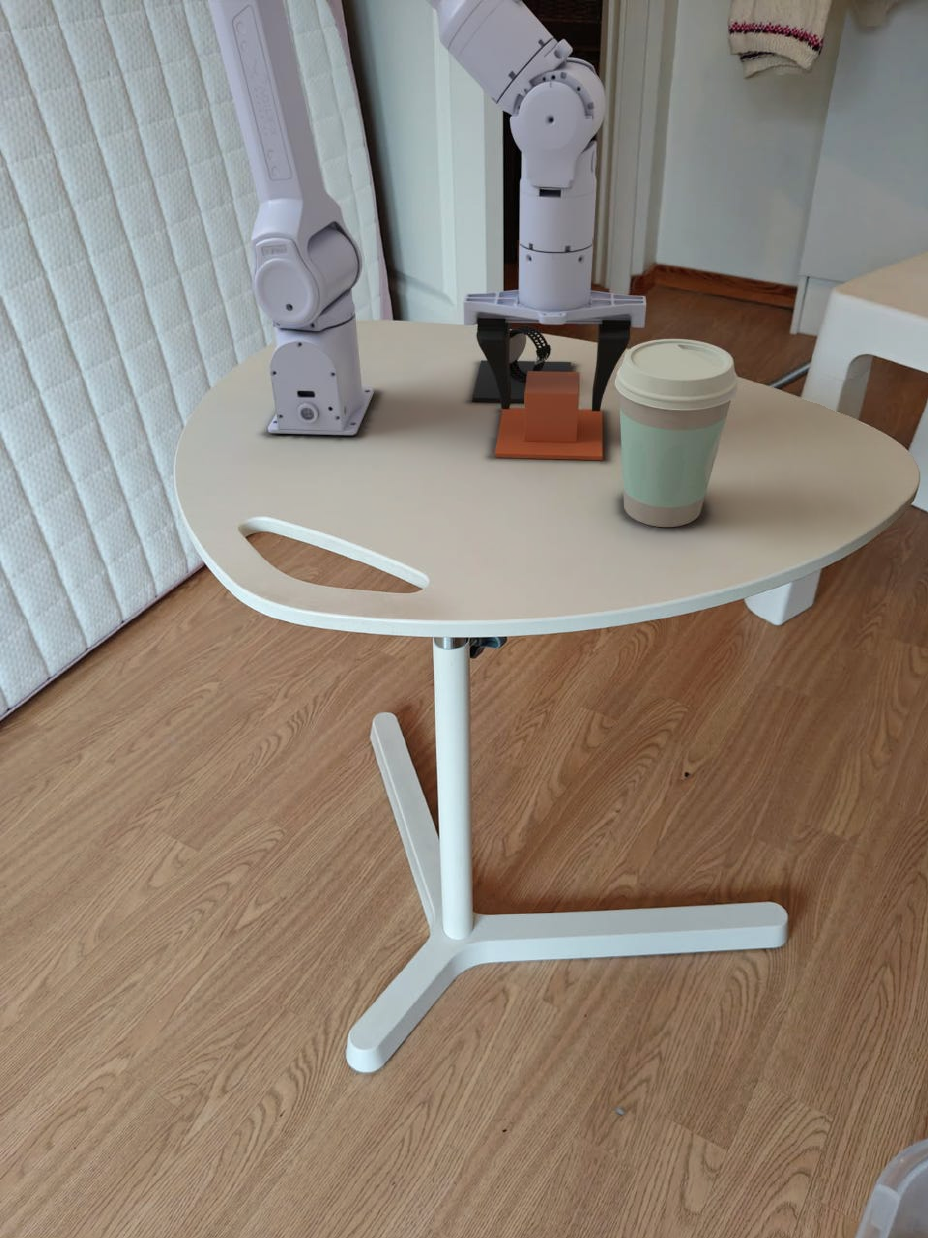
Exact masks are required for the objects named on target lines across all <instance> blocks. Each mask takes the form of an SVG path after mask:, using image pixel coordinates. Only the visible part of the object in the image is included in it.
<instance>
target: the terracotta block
mask: <svg viewBox="0 0 928 1238" xmlns="http://www.w3.org/2000/svg"><path fill="white" fill-rule="evenodd" d="M580 374H581V373H580V372H579V371H571V372H545V371H528V372H527V378H526V386H525V393H524V403H523V408H524V441H527V442H566V443H576V442H577V425H578V410H579V404H580V401H579V400H580Z"/></svg>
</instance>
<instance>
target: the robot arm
mask: <svg viewBox="0 0 928 1238" xmlns="http://www.w3.org/2000/svg"><path fill="white" fill-rule="evenodd" d="M425 1H426V2H427V3H428V4H429V5H430V6H431V7H432V8H433V9H434V10H435V11H436V12H435V13H436V16H437V23H438V37H439V41H440V44H441V46H443V47H444V48H445V49H446V51H447V52H448V53H449V54H450V55H451V56H452V57H453V58H454V59H455V60H456V62H457V63H458V64H459V65H460V66H461V68H463V70H465V72H466V73H467V74H468V75H469V76H470V77H471V78H472V79H473V81H474V82H475V83H476V84H477V85H478V86H479V87H480V88H481V90H483V92H484V93H486V95H487V96H488V97H489V98H490V99H491V100H492V101H493V103H495V105H497V107H498V108H499V109H500V110H501V111H503V112H505V113H507V114H509V115H511V116H510V118H509V124H510V130H511V134H512V137H513V139H514V142H515V144H516V145H517V147H518V149H519V150H520V152H521V178H520V181H519V243H518V245H519V246H518V247H519V248H518V249H519V250H518V265H519V266H518V289H513V290H503V291H493V292H483V293H465V296H464V298H463V302H462V303H463V305H462V307H463V308H462V310H463V325H464V326H476V325H477V327H476V335H475V337H476V341H477V344H478V347H479V348H480V350H481V352H482V353H483V355H484V357H485V359H486V360H487V361H488V363H489V365H490V367H491V370H492V372H493V375H494V378H495V381H496V384H497V388H498V391H499V396H500V401H501V402H500V409H501V410H502V409H509V408H511V403H512V402H511V377H510V364H509V350H510V330H511V324H540V325H551V326H553V325H556V326H557V325H558V326H559V325H560V326H561V325H565V324H568V325H569V324H571V325H572V324H573V325H574V324H575V325H576V324H577V325H598V326H597V328H598V329H597V346H596V361H595V369H594V370H595V372H594V377H593V384H592V392H591V393H592V395H591V410H592V411H597V412H599V411H600V410H602V408H601V407H602V403H603V399H604V395H605V392H606V389H607V386H608V384H609V382H610V378H611V376H612V374H613V372H614V370H615V368H616V366H617V364H618V362H619V361H620V359H621V357H622V355H623V354H624V353H625V351H626V349H627V347H628V346H629V343H630V340H631V328H635V329H636V328H639V329H644V328H645V326H646V325H645V324H646V313H647V298H646V296H645V295H633V294H631V295H630V294H622V293H621V294H620V293H612V292H605V291H598V290H592V289H591V288H592V272H593V271H592V270H593V256H594V255H593V254H594V240H595V239H594V238H595V237H594V236H595V219H596V217H595V216H596V203H597V201H596V200H597V177H596V167H597V161H598V156H597V145H598V143H597V141H596V140H592V138H593V137H594V136H595V135H596V134H597V132H598V131H599V130H600V127H601V126H602V124H603V121H604V118H605V115H606V111H607V95H606V90H605V87H604V84H603V82H602V81H601V79H600V77H599V76H598V75H597V72H596V69H595V67H594V65H592V63H590V62H588V61H586V60H584V59H581V58H578V57H569V56H570V55H571V54H572V53H573V47H572V46H571V45H570V43H568V41H567V40H566V39H564V38H562V39H561V40H560V41H559V42H558V41H557V39H556V38H554V36H553V35H552V34H551V33H550V32H549V31H548V29H547V28H546V27H545V26H544V25H543V24H542V22H541V21H540V20H539V19H538V18H537V17H536V16H535V15H534V13H533V12H532V11H531V10H530V9H529V8H528V7H527V6H526V4H525V3H524V2H523V0H425ZM207 2H208V7H209V9H210V14H211V18H212V21H213V27H214V30H215V34H216V38H217V41H218V45H219V50H220V53H221V57H222V62H223V65H224V70H225V73H226V77H227V81H228V84H229V85H228V86H229V90H230V93H231V97H232V100H233V105H234V108H235V112H236V116H237V120H238V123H239V127H240V128H239V129H240V132H241V136H242V139H243V144H244V147H245V148H244V149H245V151H246V156H247V159H248V162H249V163H248V164H249V167H250V171H251V175H252V179H253V183H254V187H255V190H256V194H257V198H258V202H259V207H258V211H257V215H256V218H255V223H254V226H253V229H252V232H251V237H250V243H251V247H252V251H253V257H254V268H253V272H252V284H251V285H252V290H253V295H254V297H255V300H256V301H257V304H258V305H259V307H260V309H261V310H262V311H263V313H264V314H265V315H267V317H268V318H269V319H271V324H272V327H273V332H274V333H273V334H274V340H275V348H274V350H273V353H272V355H271V357H270V363H269V375H270V382H271V390H272V395H273V402H274V410H275V414H274V416H273V418H272V420H271V421H270V423H269V425H268V426H267V430H268V433H270V434H286V435H287V434H288V435H322V436H324V435H325V436H327V435H328V436H354V435H356V434H357V433H358V431H359V428H360V427H361V424H362V421H363V419H364V417H365V415H366V412H367V410H368V408H369V406H370V403H371V400H372V398H373V396H374V394H375V388H373V387H372V386H363V383H362V382H363V381H362V371H361V362H360V351H359V337H358V328H357V327H358V326H357V319H356V307H355V302H354V299H353V292H352V291H353V290H352V289H353V288H354V287H355V286H356V285H357V283H358V282H359V280H360V278H361V274H362V272H363V258H362V252H361V250H360V247H359V245H358V243H357V241H356V240H355V238H354V237H353V235H352V234H351V233H350V232H349V230H348V228H347V225H346V223H345V220H344V216H343V211H342V208H341V205H339V203H338V202H337V201H336V200H335V199H334V198H333V197H332V196H331V195H330V194H329V193H328V192H327V191H326V189H325V186H324V181H323V177H322V173H321V169H320V164H319V160H318V159H319V158H318V155H317V150H316V146H315V141H314V137H313V136H314V135H313V133H312V126H311V123H310V118H309V113H308V109H307V103H306V99H305V95H304V91H303V86H302V81H301V76H300V72H299V67H298V63H297V58H296V53H295V49H294V44H293V40H292V35H291V31H290V27H289V22H288V18H287V17H288V16H287V13H286V9H285V3H284V0H207ZM591 140H592V141H591Z"/></svg>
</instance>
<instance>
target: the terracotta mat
mask: <svg viewBox="0 0 928 1238" xmlns="http://www.w3.org/2000/svg"><path fill="white" fill-rule="evenodd" d="M497 432H498V433H497V438H496V443H495V450H494V458H503V459H504V458H505V459H537V460H538V459H541V460H542V459H543V460H572V461H573V460H576V461H577V460H578V461H579V460H580V461H603V457H604V455H603V453H604V451H603V449H604V447H603V409H600V411H599V412H597V411H592V409H578V425H577V442H576V443H566V442H527V441H524V407H523V408H522V407H510V408H509V409H501V416H500V422H499V428H498V431H497Z"/></svg>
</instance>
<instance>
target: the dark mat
mask: <svg viewBox="0 0 928 1238" xmlns="http://www.w3.org/2000/svg"><path fill="white" fill-rule="evenodd" d="M535 361H536V360H533V361H532V360H517V363H518V366H519V367H520V369H521V370H522V372H524V373H525V374H527V372H528V371H533V368H534V364H535ZM513 367H514V366H513ZM571 369H572V361H545V363H544V366H543V368H542V370H541V371H545V372H572V370H571ZM515 370H516V369H515ZM511 372H512V371H511ZM517 373H519V372H517ZM513 375H515V374H513ZM520 375H522V374H520ZM510 377H511V376H510ZM517 377H518V376H517ZM523 377H524V376H523ZM525 386H526V381H524V382H520V381H517V380H515V379H514V378H512V377H511V402H510V403H522V404H524V393H525ZM471 397H472V398H471V400H472V402H474V403H475V402H476V403H478V402H479V403H480V402H481V403H501V401H500V396H499V391H498V388H497V384H496V381H495V378H494V375H493V372H492V370H491V367H490V365H489V363H488V361H487V359H486V360H485V359H484V360H483V359H482V360H480V364H479V368H478V372H477V377H476V379H475V386H474V390H473V393H472V396H471Z"/></svg>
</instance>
